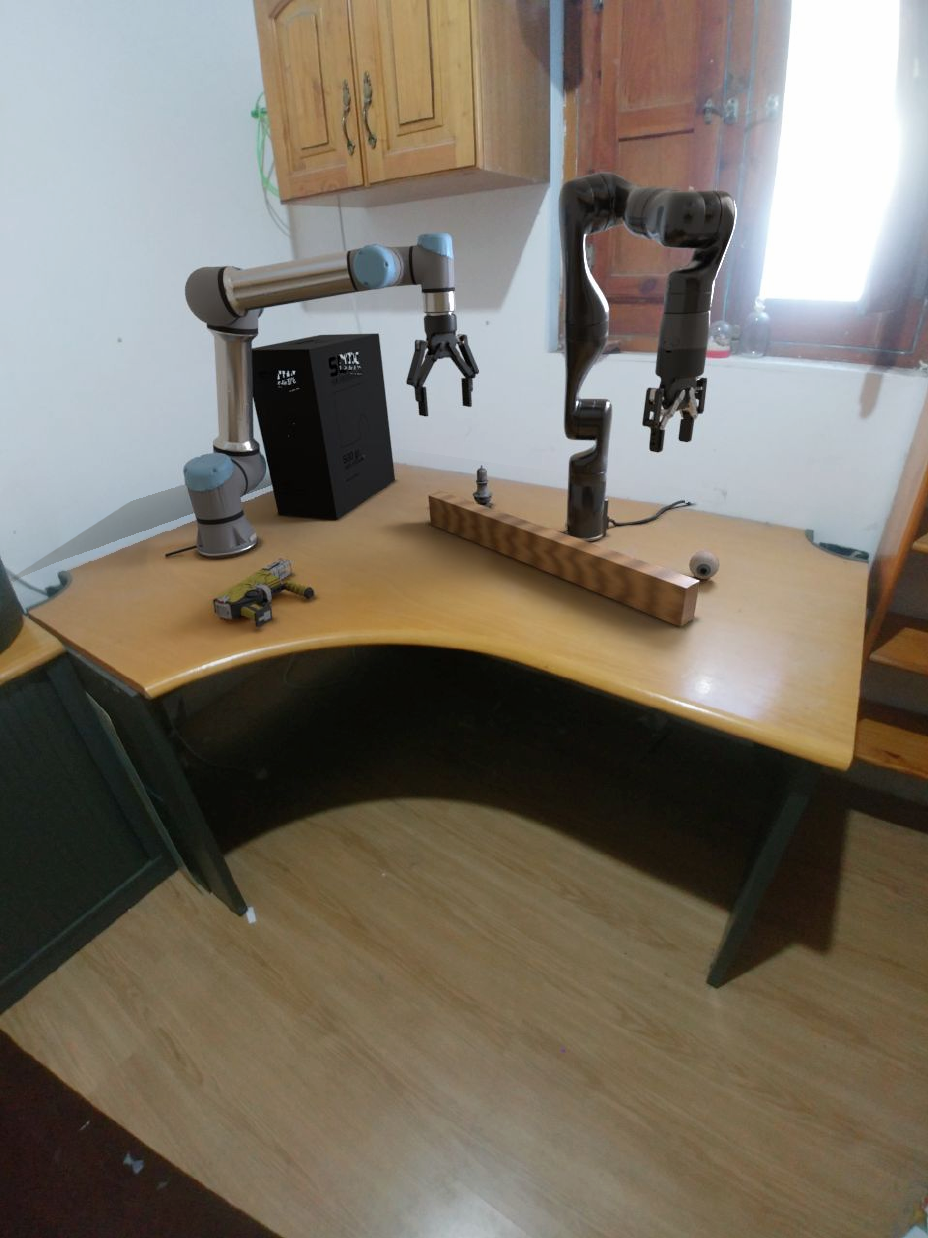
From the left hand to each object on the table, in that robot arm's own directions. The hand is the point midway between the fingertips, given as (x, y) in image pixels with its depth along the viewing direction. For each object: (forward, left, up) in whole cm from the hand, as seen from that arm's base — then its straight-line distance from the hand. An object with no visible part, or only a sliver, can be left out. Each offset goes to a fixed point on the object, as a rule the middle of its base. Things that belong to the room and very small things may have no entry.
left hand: (446, 410), depth 147 cm
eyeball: (+56, -34, -31) cm, 72 cm away
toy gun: (-36, -39, -31) cm, 61 cm away
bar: (+21, -24, -31) cm, 44 cm away
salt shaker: (+8, +17, -31) cm, 36 cm away
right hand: (+42, -46, +1) cm, 63 cm away
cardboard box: (-38, +31, -31) cm, 57 cm away
